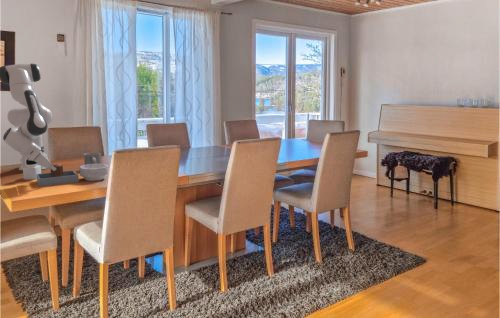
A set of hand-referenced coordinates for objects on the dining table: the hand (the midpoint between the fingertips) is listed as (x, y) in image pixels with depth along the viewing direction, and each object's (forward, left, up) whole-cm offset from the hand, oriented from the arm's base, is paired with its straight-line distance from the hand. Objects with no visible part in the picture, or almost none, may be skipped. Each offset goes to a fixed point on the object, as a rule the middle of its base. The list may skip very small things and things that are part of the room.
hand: (54, 168), depth 233 cm
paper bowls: (+3, +20, -8) cm, 22 cm away
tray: (-1, +1, -8) cm, 8 cm away
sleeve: (-1, +1, -8) cm, 8 cm away
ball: (-1, +2, +1) cm, 2 cm away
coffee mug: (-26, +25, -8) cm, 37 cm away
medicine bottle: (-18, -10, -8) cm, 22 cm away
